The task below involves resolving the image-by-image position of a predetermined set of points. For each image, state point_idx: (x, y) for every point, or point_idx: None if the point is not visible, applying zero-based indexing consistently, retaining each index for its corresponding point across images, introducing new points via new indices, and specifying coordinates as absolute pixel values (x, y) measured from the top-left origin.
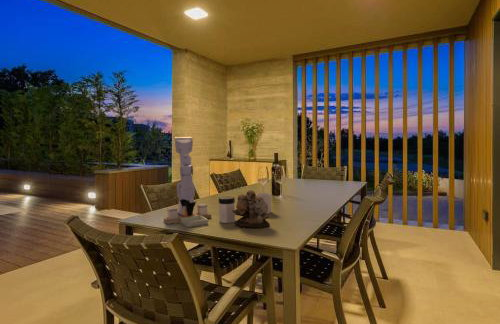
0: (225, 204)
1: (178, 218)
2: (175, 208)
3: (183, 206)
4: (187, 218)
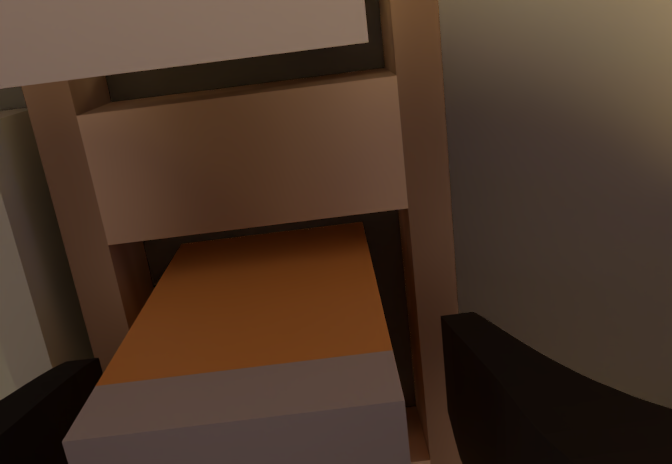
0: None
1: (210, 97)
2: (23, 4)
3: (359, 425)
4: (5, 303)
